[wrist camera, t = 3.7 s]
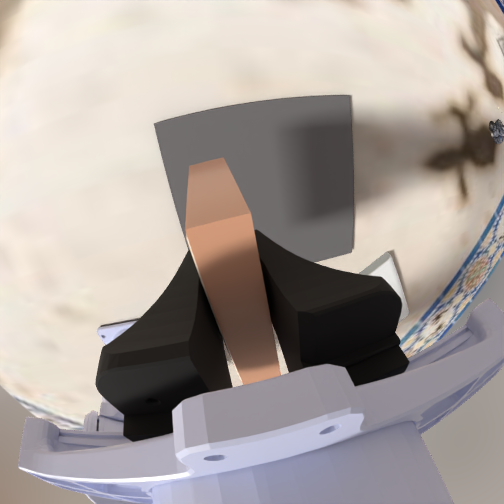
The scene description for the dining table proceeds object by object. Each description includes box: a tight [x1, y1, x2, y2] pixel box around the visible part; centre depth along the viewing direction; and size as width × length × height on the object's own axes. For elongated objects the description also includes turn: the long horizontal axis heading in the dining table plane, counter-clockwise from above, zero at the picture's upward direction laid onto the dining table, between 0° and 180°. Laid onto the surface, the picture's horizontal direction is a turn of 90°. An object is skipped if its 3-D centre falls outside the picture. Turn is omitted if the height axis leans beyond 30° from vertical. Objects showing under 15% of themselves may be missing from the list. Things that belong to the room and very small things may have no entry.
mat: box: [154, 95, 354, 262], centre depth 20 cm, size 14×14×1 cm
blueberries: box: [489, 108, 504, 144], centre depth 20 cm, size 7×8×2 cm
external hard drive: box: [359, 252, 409, 323], centre depth 30 cm, size 2×8×12 cm
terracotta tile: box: [185, 157, 281, 385], centre depth 11 cm, size 8×2×6 cm, turn 10°
